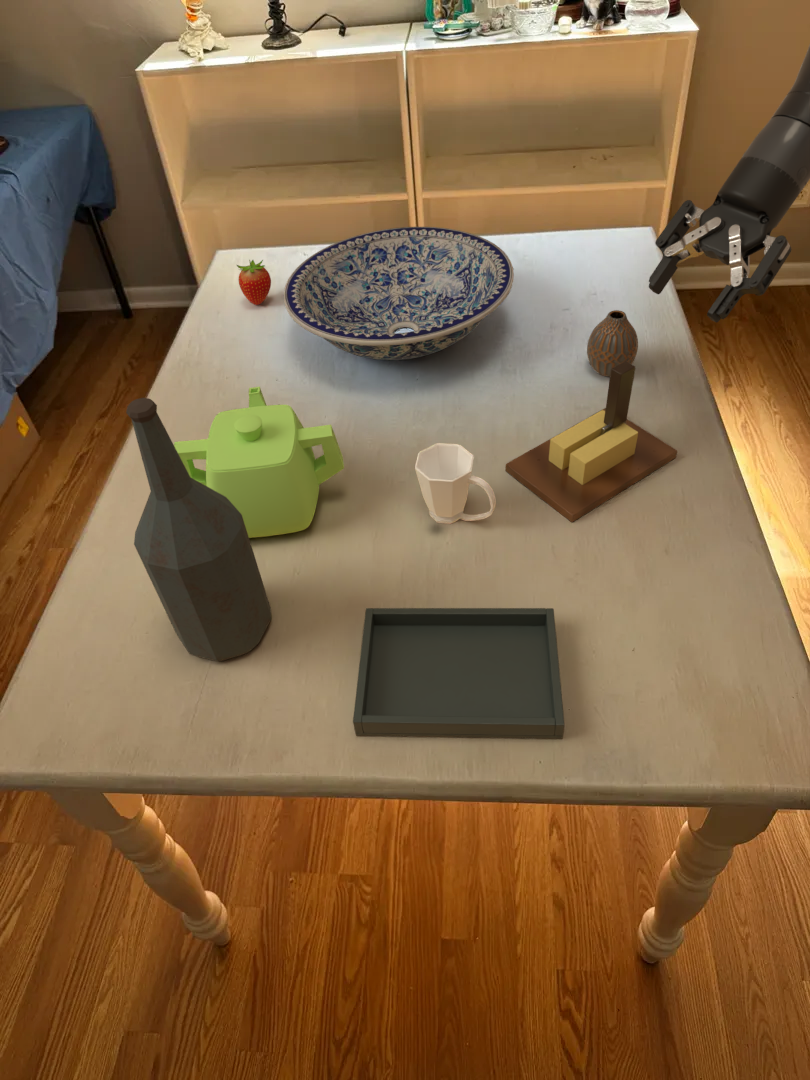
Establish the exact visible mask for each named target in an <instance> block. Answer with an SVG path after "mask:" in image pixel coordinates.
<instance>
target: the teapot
mask: <svg viewBox="0 0 810 1080" xmlns="http://www.w3.org/2000/svg"><path fill="white" fill-rule="evenodd" d="M173 445H174V447H175V448H176V450H177V452H178V454H179V456H180V458H181V460H182V462H183V464H184V466H185V468H186V470H187V472H188V474H189V476H190V477H191V478H193V479H194V480H196V481H198V482H200V483H202V484H203V485H205V486H207V487H209V488H211V489H212V490H214V491H216V492H218V493H220V494H221V495H223V496H225V497H227V499H228V500H229V501H230V502H231V503H232V504H233V505H234V506H235V508H236V509H237V510H238V511H239V512H240V513H241V514H242V517H243V521H244V524H245V527H246V530H247V533H248V537H249V539H251V538H263V537H272V536H280V535H285V534H286V535H287V534H292V533H297V532H302V531H304V530H306V529H308V528H309V527H310V525H311V523H312V521H313V519H314V515H315V512H316V508H317V503H318V499H319V493H320V485H322V484H323V483H324V482H326V481H327V480H329V479H331V478H332V477H334V476H335V475H336V474H338V473H340V472H341V471H343V470H344V469H345V464H344V456H343V453H342V450H341V448H340V445H339V442H338V439H337V437H336V434H335V431H334V429H333V426H332V424H325V425H317V426H310V427H304V425H303V424H302V422H301V421H300V419H299V417H298V416H297V414H296V412H295V411H294V409H293V408H292V406H291V405H289V404H270V405H268V404H267V403H266V400H265V396H264V394H263V392H262V389H261V386H254V387H249V388H248V407H243V408H235V409H229V410H223V411H219V412H218V413H217V414H216V415H215V416H214V418H213V420H212V421H211V426H210V427H209V431H208V437H207V438H203V439H193V440H192V439H191V440H180V441H174V442H173ZM317 446H321V449H322V453H323V454H322V455H320V456H319V457H317V458H316V457H315V453H314V449H313V447H317ZM194 460H205V470H204V469H201V468H198V467H195V463H194Z"/></svg>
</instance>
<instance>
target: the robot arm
mask: <svg viewBox="0 0 810 1080" xmlns="http://www.w3.org/2000/svg"><path fill="white" fill-rule="evenodd" d="M785 95H786V96H785V97H784V98H783V100H782V101H781V103H780V104H779V105H778V107H777V108H776V110H775V111H774V112H773V114H772V116H771V117H770V119H769V121H767V123H766V124H765V125H764V127H763V128H762V129H761V130H760V131H759V133H758V134H757V135H756V136H755V137H754V139H753V140H752V141H751V143H750V144H749V146H748V147H747V149H746V150H745V151H744V153H743V154H742V156H741V157H740V159H739V160H738V162H737V163H736V165H735V166H734V168H733V169H732V171H731V172H730V173H729V175H728V177H727V178H726V180H725V181H724V183H723V185H722V186H721V187H720V189H719V190H718V192H717V194H716V196H715V199H714V201H713V203H712V204H711V205H710V206H709V207H708V208H706V209H702V208H701V207H698V206H697V205H695V204H694V202H693V201H692V200H691V199H686V200H685V201H684V202H683V203H682V204H681V205H680V207H679V208H678V209H677V211H676V212H675V213H674V215H673V216H672V218H671V219H670V221H669V222H668V223H667V224H666V226H665V227H664V229H662V231H661V232H660V234H659V235H658V237H657V238H656V240H655V246H657V248H658V249H659V250H660V251H661V253H662V258H661V260H660V262H659V263H658V264H657V265H656V267H655V269H654V270H653V272H652V273H651V274H650V276H649V279H648V288H649V290H650V291H652V293H654V294H656V295H660V294H662V292H663V290H664V289H665V288H666V286H667V285H668V283H669V282H670V281H671V279H672V277H673V276H674V274H675V273H676V272H677V271H678V266H677V265H679V264H681V263H683V262H685V261H687V260H689V259H691V258H693V259H695V258H698V257H700V256H702V255H703V254H704V255H705V256H706V257H708V258H710V259H716V260H719V262H721V263H722V264H724V265H726V266H730V267H729V268H730V284H726V285H725V286H724V288H723V289H722V290H721V292H720V294H718V296H717V298H716V299H715V300H714V302H713V304H711V307H709V309H708V311H707V313H706V316H707V317H708V318H709V319H710V320H711V321H713V322H714V323H719V322H720V321H721V320H725V319H726V318H728V316H729V315H730V314H731V312H732V310H733V309H734V308H735V306H736V305H737V303H738V302H739V300H740V299H741V298H742V297H743V296H745V295H755V296H757V297H761V296H763V295H764V294H765V293H766V292H767V290H768V288H769V287H770V286H771V284H772V282H773V280H775V277H776V276H777V274H778V273H779V271H780V270H781V268H782V266H783V265H784V263H785V262H786V260H787V259H788V257H789V256H790V254H791V252H792V247H791V245H790V243H789V241H788V239H787V237H786V236H785V235H778V236H777V237H775V236H772V235H771V234H772V231H773V230H774V229H775V228H776V227H778V225H779V224H780V223H781V221H782V219H784V217H785V215H786V214H787V213H788V212H789V210H790V208H791V207H792V206H793V204H794V202H795V201H796V199H797V198H798V197H799V196H800V194H801V192H803V190H804V188H805V187H806V185H807V184H808V183H809V181H810V44H809V45H808V48H807V51H806V52H805V56H804V58H803V60H802V63H801V65H800V68H799V70H798V72H797V76H796V78H795V81H794V83H793V85H792V86H791V88H790V90H789V91H788V92H787V93H786V94H785ZM698 222H699V227H697V228H695V229H693V230H692V231H690V232H688V231H689V230H690V228H691V227H695V226H697V223H698ZM687 232H688V233H687ZM762 249H764V250H763V255H764V256H763V257H762V259H761V261H760V262H759V264H758V265H757V267H756V268H755V270H754V271H753V273H752V274H751V276H750V277H749V275H750V269H751V268H750V265H751V264H750V263H751V262H750V260H751V259H750V257H751V255H753V254H755V253H757V252H759V251H762Z"/></svg>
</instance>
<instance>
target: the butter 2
mask: <svg viewBox="0 0 810 1080" xmlns="http://www.w3.org/2000/svg"><path fill="white" fill-rule="evenodd" d="M637 437H638V432H637V431H636V430H634V429H633V428H631V427H629V426H628V425H626V424H625V423H622V424H620V425H618V426H617V427H615V428H613V429H612V430H610V431H608V432H606V433H605V434H603V435H601V436H599V437H598V438H596V439H594V440H593V441H591V442H589V443H587V444H586V445H584V446H582V447H581V448H579V449H577V450H575V451H574V452H572V453H570V462H569V471H568V475H569V476H570V477H572V478H573V479H575V480H576V481H577V482H579V483H580V484H581V485H584V484H585V483H587V482H589V481H590V480H592V479H594V478H595V477H597V476H599V475H600V474H602V473H604V472H605V471H607V470H608V469H610V468H612V467H613V466H615V465H617V464H618V463H620V462H622V461H623V460H625V459H627V458H628V457H630V456H632V455H633V454H634V453H635V448H636V442H637Z"/></svg>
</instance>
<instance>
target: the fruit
mask: <svg viewBox="0 0 810 1080" xmlns="http://www.w3.org/2000/svg"><path fill="white" fill-rule="evenodd" d="M263 262H264V259H262V260H261V261H260V262H258V263H255V261H254V259H252V260H251V259H249V265H239V264H236V267H237V269H238V270H239V271H240V272H239V274H238V286H239V287H240V290H241V292H242V294H243V295H244V297H245V298H246V300H247V301H249V302H250V303H251V304H252V305H254V306H258V305H261V304H263V303H264V302H265V300H266V299H267V297H268V295H269V293H270V291H271V287H272V278H271V274H270V273H269V271H268V270H267V268H265V267H266V265H265V264H264V265H263V264H262V263H263ZM261 264H262V265H261Z"/></svg>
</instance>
